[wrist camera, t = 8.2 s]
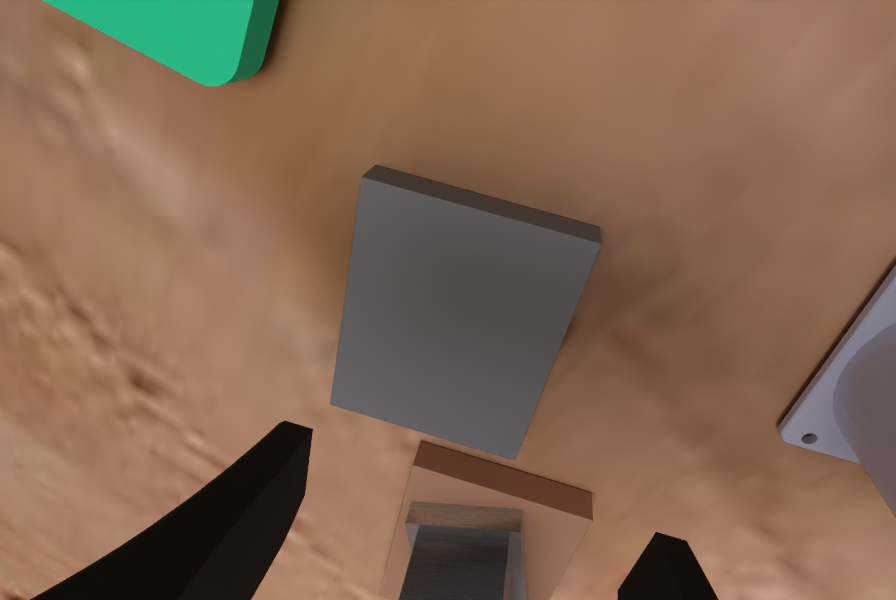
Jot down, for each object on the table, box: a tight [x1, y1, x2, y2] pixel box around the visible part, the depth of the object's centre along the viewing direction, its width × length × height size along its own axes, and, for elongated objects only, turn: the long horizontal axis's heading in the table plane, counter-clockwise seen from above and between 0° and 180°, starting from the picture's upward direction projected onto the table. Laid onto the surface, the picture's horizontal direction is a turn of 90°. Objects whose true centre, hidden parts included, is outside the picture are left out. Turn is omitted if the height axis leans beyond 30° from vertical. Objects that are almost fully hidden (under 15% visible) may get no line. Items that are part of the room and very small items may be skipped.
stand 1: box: [330, 165, 602, 460], centre depth 21 cm, size 8×10×2 cm
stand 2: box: [379, 441, 593, 600], centre depth 26 cm, size 8×10×2 cm
